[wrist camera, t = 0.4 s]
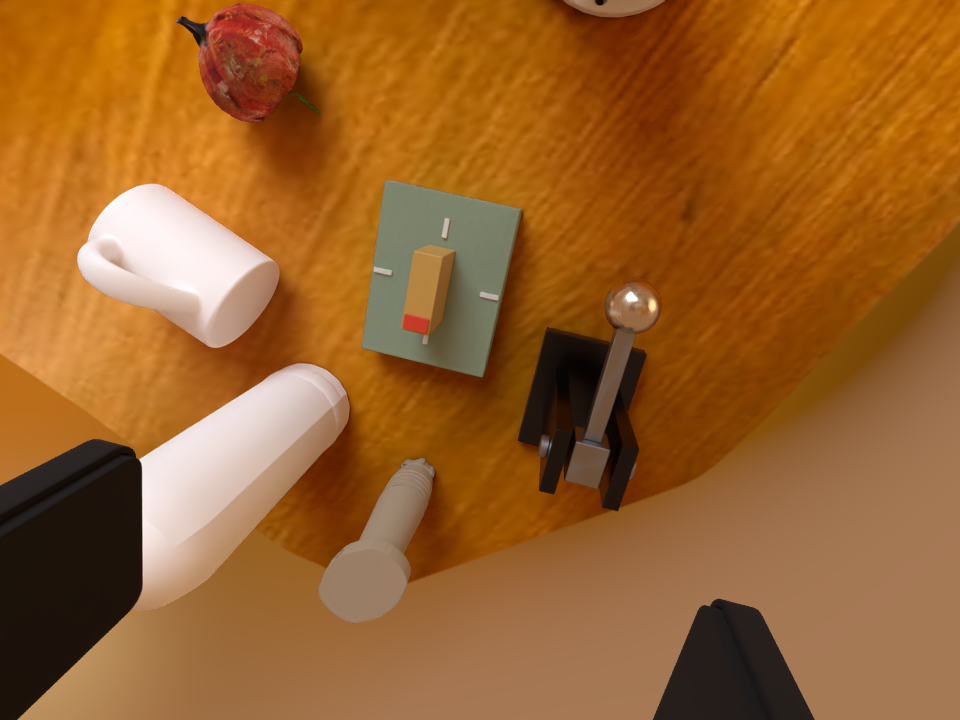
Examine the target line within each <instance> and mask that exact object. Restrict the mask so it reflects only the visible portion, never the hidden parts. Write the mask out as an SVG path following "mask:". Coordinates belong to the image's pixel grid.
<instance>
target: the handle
mask: <svg viewBox="0 0 960 720" xmlns="http://www.w3.org/2000/svg"><path fill="white" fill-rule="evenodd" d="M434 474H435V470H434V467H433V466H430V465H429V464H428V463H427V462H426V459H424V458H420V459H417V460H411V459H408V460H406V461H405V462H404V463H403V464H402V465H401V467H400V469H399V470H398V471H397V472H396V473H395V475H394V476H393V477H392V478H391V480H390V481H389V483H388V484H387V485H386V487H385V489H384V490H383V492H382V493H381V495H380V497H379V499H378V501H377V503H376V505H375V508H374V510H373V512H372V514H371V516H370V518H369V521H368V523H367V525H366V527H365V529H364V531H363V533H362V535H361V537H360V539H359V541H356V542H353V543H350V544H349V545H347V546H345V547H344V548H343V549H342V550H341V551H340V552H339V553H338V554H337V555H336V556H335V557H334V558H333V559H332V561H331V562H330V564H329V565H328V567H327V569H326V571H325V573H324V575H323V577H322V580H321V583H320V586H319V589H318V593H319V596H320V598H321V600H322V602H323V603H324V604H325V606H326V607H327V608H328V609H329V610H330V611H331V612H332V613H334V614H335V615H336V616H338V617H339V618H341V619H343V620H345V621H348V622H351V623H357V622H364V621H370V620H373V619H377V618H379V617H381V616H383V615H384V614H385V613H387V612H388V611H390V610H391V609H392V608H394V607H395V606H396V605H397V604H398V602H399V601H400V599H401V597H402V595H403V593H404V590H405V588H406V585H407V582H408V580H409V577H410V574H411V567H410V564H409V562H408V560H407V558H406V557H405V555H404V553H405V551H406V549H407V547H408V545H409V543H410V541H411V539H412V537H413V535H414V533H415V531H416V530H417V528H418V526H419V524H420V522H421V520H422V518H423V516H424V513H425V511H426V508H427V506H428V503H429V499H430V496H431V492H432V484H433V482H432V479H433V477H434Z"/></svg>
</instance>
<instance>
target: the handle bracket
mask: <svg viewBox="0 0 960 720" xmlns="http://www.w3.org/2000/svg"><path fill="white" fill-rule="evenodd" d="M609 346H610V342H608V341H604V340H599V339H595V338H591V337H587V336H582V335H578V334H574V333H570V332H566V331H561V330H557V329H553V328H549V327H547V328H546V332H545V336H544V339H543V343H542V347H541V351H540V355H539V359H538V363H537V366H536V370H535V374H534V378H533V382H532V386H531V390H530V393H529V397H528V401H527V405H526V409H525V413H524V417H523V420H522V424H521V428H520V432H519V437H518V441H520V442H524V443H528V444H532V445H535V446H539V448H538V456H540V457H541V461H540V478H539V491H542V492H546V493H549V494H555V491H556V487H557V484H558V480H559V477H560V474H561V470H562V467H563V464H564V460H565V457H566V453H567V450H568V447H569V443H570V440H571V437H572V432H573V428H574V426H577V427H581V428H585V425H586V421H587V418H588V415H589V411H590V408H591V405H592V402H593V398H594V395H595V392H596V388H597V385H598V382H599V378H600V375H601V372H602V369H603V365H604V362H605V359H606V355H607V352H608V349H609ZM646 355H647V354H646V353H645V351H644V350H641V349H637V348H633V347H632V348H631V351H630V354H629V357H628V360H627V363H626V367H625V370H624V373H623V376H622V379H621V382H620V385H619V389H618V392H617V395H616V398H615V401H614V404H613V407H612V411H611V414H610V417H609V420H608V423H607V426H606V429H605V434H607V436H608V441H609V445H610V450H611V452H610V455H609V458H608V461H607V464H606V467H605V470H604V473H603V476H602V479H601V482H600V486H599V488H600V495H601V502H602V507H603V508H607V509H611V510H615V511H618V510H619V507H620V504H621V501H622V498H623V495H624V492H625V489H626V487H627V484H628V481H629V479H632V477H633V475H634V473H635V468H636V458H637V455H638V452H639V447H638V444H637V441H636V438H635V435H634V432H633V429H632V426H631V423H630V420H629V417H628V414H627V413H628V410H629V407H630V404H631V401H632V398H633V395H634V392H635V388H636V385H637V382H638V379H639V376H640V373H641V370H642V367H643V364H644V361H645V358H646Z"/></svg>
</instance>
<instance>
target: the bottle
mask: <svg viewBox="0 0 960 720" xmlns="http://www.w3.org/2000/svg"><path fill="white" fill-rule="evenodd" d="M349 411H350V405H349V401H348V397H347V393H346V391H345V390H344V388H343V387H342V385H341V383H340V382H339V380H338V379H337V378H335V377H334V376H333V375H332V374H331V373H329V372H328V371H327V370H325V369H323V368H320V367H318V366H316V365H313V364H302V363H297V364H294V365H291V366H287V367H285V368H283V369H281V370H279V371H276V372H274V373H273V374H271V375H270V376H268V377H267V378H266V379H265V380H263V381H262V382H261V383H259V384H258V385H256V386H254V387H253V388H251V389H250V390H248V391H247V392H245V393H243V394H242V395H240V396H239V397H237V398H236V399H234V400H232V401H231V402H229V403H228V404H226V405H224V406H223V407H221V408H220V409H218V410H217V411H215V412H213V413H212V414H210V415H209V416H207V417H205V418H204V419H202V420H201V421H199V422H198V423H196V424H194V425H193V426H191V427H190V428H188V429H186V430H185V431H183V432H182V433H180V434H179V435H177V436H175V437H174V438H172V439H171V440H169V441H168V442H166V443H164V444H163V445H161V446H160V447H158V448H156V449H155V450H153V451H152V452H150V453H149V454H147V455H145V456H144V457H142V458H141V459H139V460H140V462H141V464H142V531H143V587H142V592H141V595H140V597H139V599H138V601H137V603H136V604H135V606H134V607H133V608H132V609H131V610H139V611H145V610H150V609H154V608H159V607H162V606H164V605H166V604H168V603H170V602H172V601H174V600H176V599H178V598H180V597H181V596H183V595H185V594H186V593H188V592H190V591H191V590H193V589H195V588H196V587H197V586H199V585H200V584H202V583H203V582H204V581H206V580H207V579H208V578H209V577H210V576H211V575H212V574H213V573H214V572H215V571H216V569H218V567H219V566H220V565H221V564H222V563H223V562H224V561H225V560H226V559H227V558H228V557H229V555H230V554H231V553H232V552H233V551H234V550H235V549H236V548H237V547H238V545H239V544H240V543H241V542H242V541H243V540H244V539H245V538H246V537H247V536H248V535H249V533H250V532H251V531H252V530H253V529H254V528H255V527H256V526H257V525H258V524H259V522H260V521H261V520H262V519H263V518H264V517H265V516H266V515H267V514H268V513H269V511H270V510H271V509H272V508H273V507H274V506H275V505H276V504H277V503H278V502H279V500H280V499H281V498H282V497H283V496H284V495H285V494H286V493H287V492H288V491H289V489H290V488H291V487H292V486H293V485H294V484H295V483H296V482H297V481H298V480H299V478H300V477H301V476H302V475H303V474H304V473H305V472H306V471H307V470H308V468H309V467H310V466H311V465H312V464H313V463H314V462H315V461H316V460H317V459H318V457H319V456H320V455H321V454H322V453H323V452H324V451H325V450H326V449H327V448H329V447H330V446H331V445H332V444H333V443H334V442H335V440H336V439H337V437H338V436H339V434H340V433H341V432H342V431H343V429H344V427H345V425H346V424H347V422H348V418H349Z"/></svg>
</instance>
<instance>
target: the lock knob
mask: <svg viewBox="0 0 960 720" xmlns="http://www.w3.org/2000/svg"><path fill="white" fill-rule="evenodd" d="M454 254H455V250H451V249H447V248H442V247H438V246H434V245H427V246H425V247H422V248H420V249H417V250H415V251H414V253H413V259H412V265H411V271H410V277H409V283H408V289H407V295H406V301H405V308H404V314H403V320H402V326H401V329H402V330H406V331H411V332H415V333H419V334H423V335H427V336H429V334H430V333H431V332H432V331H433V330H434V329H435V328H436V327H437V326H438V325H439V323H440V322H441V321H442V318H443V312H444V307H445V302H446V297H447V291H448V286H449V281H450V276H451V270H452V265H453V260H454Z"/></svg>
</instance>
